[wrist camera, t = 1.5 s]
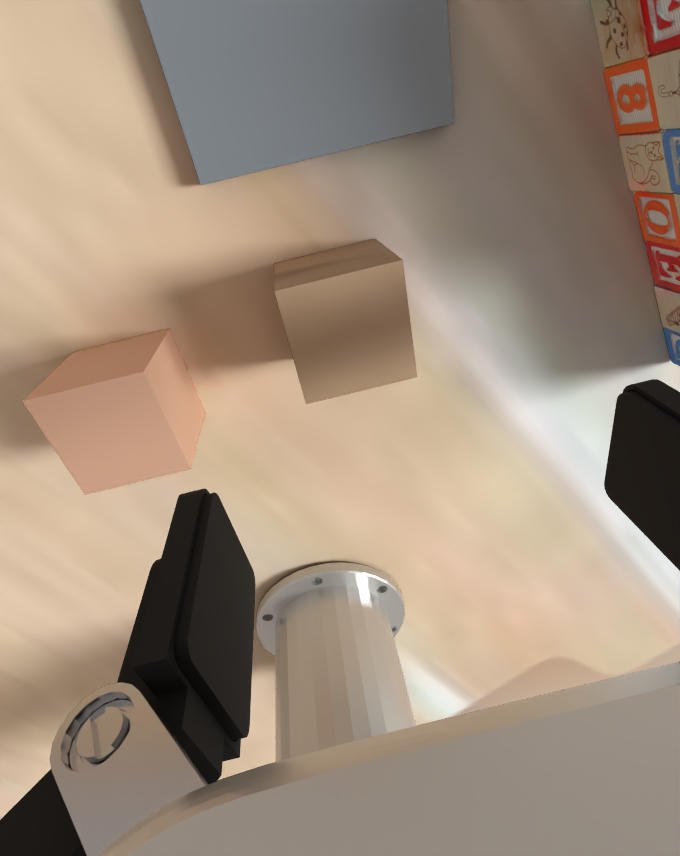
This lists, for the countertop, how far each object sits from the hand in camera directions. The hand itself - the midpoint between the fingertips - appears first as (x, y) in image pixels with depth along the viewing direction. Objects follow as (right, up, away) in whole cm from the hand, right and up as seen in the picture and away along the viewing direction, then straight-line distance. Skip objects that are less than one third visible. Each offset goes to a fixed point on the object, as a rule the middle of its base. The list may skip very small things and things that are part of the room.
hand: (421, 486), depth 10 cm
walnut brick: (-2, +9, +15) cm, 17 cm away
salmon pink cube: (-13, +4, +16) cm, 21 cm away
